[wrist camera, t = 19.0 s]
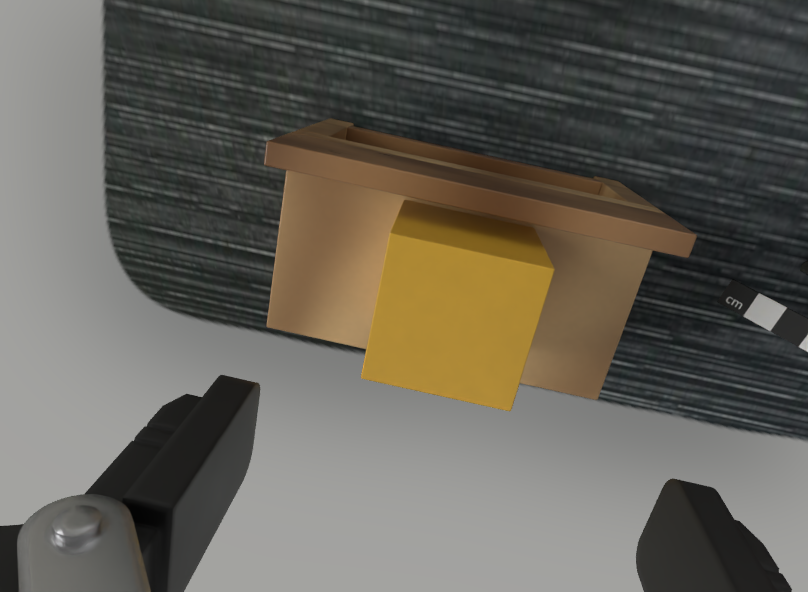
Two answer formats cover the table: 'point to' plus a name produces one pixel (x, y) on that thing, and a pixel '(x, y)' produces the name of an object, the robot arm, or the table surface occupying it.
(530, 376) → the bench
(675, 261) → the table surface
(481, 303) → the block
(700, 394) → the table surface
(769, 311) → the figurine
